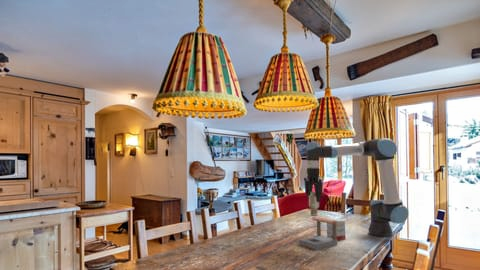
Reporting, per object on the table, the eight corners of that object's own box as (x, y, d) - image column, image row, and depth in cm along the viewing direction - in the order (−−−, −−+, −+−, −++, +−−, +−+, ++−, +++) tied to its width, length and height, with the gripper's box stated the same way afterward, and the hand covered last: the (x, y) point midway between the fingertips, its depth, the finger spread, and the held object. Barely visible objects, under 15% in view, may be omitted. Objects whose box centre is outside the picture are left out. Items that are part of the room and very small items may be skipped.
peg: (309, 215, 183) (308, 191, 184) (313, 214, 185) (313, 191, 186) (314, 216, 180) (313, 192, 181) (318, 215, 182) (318, 191, 183)
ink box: (346, 239, 195) (345, 220, 196) (335, 240, 192) (334, 221, 193) (337, 236, 203) (336, 218, 204) (326, 237, 200) (326, 219, 201)
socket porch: (318, 239, 194) (318, 217, 195) (337, 244, 182) (336, 220, 184) (298, 244, 183) (298, 220, 185) (317, 250, 172) (316, 224, 173)
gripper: (298, 167, 189) (299, 205, 188) (320, 168, 176) (321, 209, 174) (306, 167, 194) (307, 204, 192) (328, 167, 180) (329, 208, 178)
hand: (313, 206), depth 183 cm, fingers closed on peg, 4 cm apart
